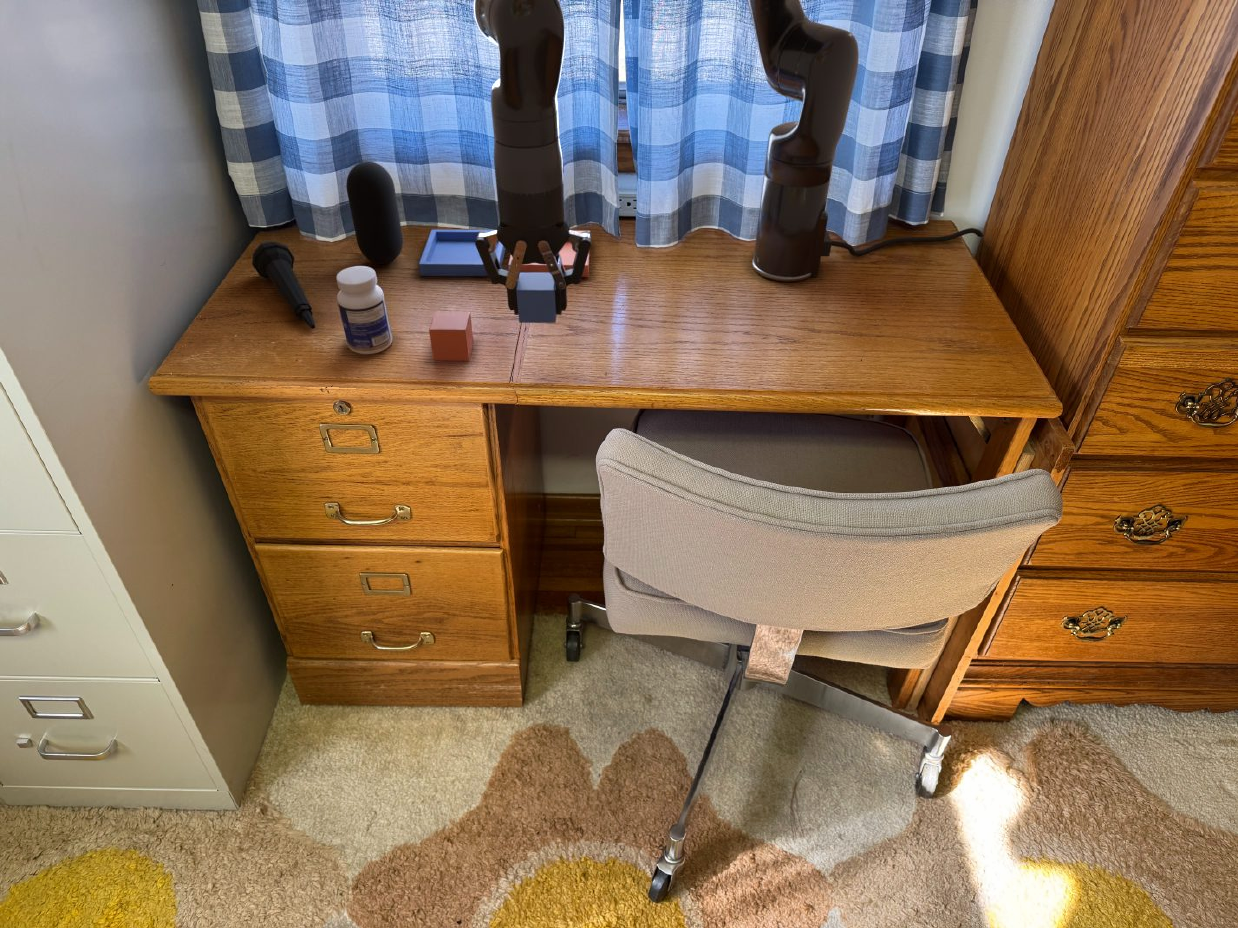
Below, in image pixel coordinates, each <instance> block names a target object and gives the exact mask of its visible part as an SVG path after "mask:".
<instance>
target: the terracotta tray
mask: <svg viewBox="0 0 1238 928" xmlns="http://www.w3.org/2000/svg"><path fill="white" fill-rule="evenodd" d="M574 231H575V232H579V233H582V232H583V231H584V230H574ZM588 231H589V232H590V233H591V230H588ZM590 253H591V249H590V250H589V253H588V257H587V260H586V264H585V267H584V271H583V274H582V278H589V274H590V273H589V270H590ZM559 254H560V256H561V260H562V264H563V266H564V269H565V271H567V270H570V269H572V266H573V262H574V259H575V255H576V252H575V251H573V249H572V243H571V242H570V241H567V242H566V244H565V245H564V246H563V248H562V249H561V251H560V252H559ZM511 259H512V255H511V254H510V256H509V261H508V265H507V266H508V268H509V267H510V263H511ZM520 273H550V272H549V270H548V267H547V265H546V264H538V263H531V264H522V265H521V269H520V272H519V274H520ZM518 277H519V275H518Z"/></svg>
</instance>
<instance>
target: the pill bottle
mask: <svg viewBox="0 0 1238 928" xmlns="http://www.w3.org/2000/svg"><path fill="white" fill-rule="evenodd" d="M336 283H337V287H338V289H339V291H338V292H337V296H336V300H337V301H336V302H337V306H338V309H339V314H340V318H341V323H342V327H343V331H344V336H345V339H346V344H347V347H348V348H349V350H351V351H352V352H354V353H355V354H359V355H373V354H379V353H380V352H381V353H382V352H383V351H385V350H387V349H388V348H389V347H390V346H391V345H392V342H393V333H392V329H391V323H390V319H389V313H388V309H387V303H386V297H385V294H384V291H383V289H382V287H380V286H379V285H378V278H377V273H376V270H375V269H374V268H372V267H370V266H365V265H354V266H350V267H347V268H344V269H341V270H340V271H339V272H337V274H336Z"/></svg>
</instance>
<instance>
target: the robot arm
mask: <svg viewBox="0 0 1238 928" xmlns="http://www.w3.org/2000/svg"><path fill="white" fill-rule="evenodd" d="M746 2H747V6H748V9H749V12H750V17H751V22H752V26H753V29H754V35H755V41H756V45H757V50H758V55H759V60H760V63H761V68H762V72H763V75H764V77H765V80H766V82H767V84H768V85H769V87H770V88H771V89H772V90H773V91H774V92H776V93H777V94H779V95H780V96H783V97H785V98H788V99H792V100H794V101H798V102H801V104H802V105H801V109H800V113H799V118H798V120H795V121H788V122H784V123H780V124H778V125H776V126H773V128H772V129H770V131H769V134H768V137H767V145H766V154H765V160H764V161H765V163H764V168H763V169H764V170H763V178H762V187H761V194H760V203H759V210H758V218H757V227H756V235H755V241H754V250H753V256H752V262H751V266H752V269H753V270H754V272H755V273H757V274H758V275H759V276H761V277H763V278H766V279H769V280H772V281H777V282H785V283H788V282H789V283H791V282H801V281H804V280H808V279H810V278H817V277H818V276H819V271H820V265H821V258H822V257H830V256H831V251H832V250H831V249H832V247H838V248H842V249H846V250H847V251H848V252H849V254H850V255H851V256H854V257H860V256H863V255H867V254H869V253H872V252H875V251H876V250H878V249H881V248H882V247H883V248H884V247H886V246H889V245H895V244H903V243H939V242H940V243H941V242H949V241H951V240H955V239H958V238H959V237H962V236H965V235H968V234H974V235H976V236H977V237H978V238H984V234H983V232H982V231H981V230H979V229H978V228H974V227H969V228H965V229H961V230H959V231H957V232H955V233H952V234H948V235H941V236H904V237H894V238H889V239H885V240H882V241H879V242H877V243H875V244H873V245H871V246H869V247H867V248H864V249H860V250H859V249H858V250H855V248H854V247H853V246H852V245H851V244H849V243H847V242H844V241H838V240H832V239H831V237H830V235H829V232H828V229H827V226H828V221H829V214H828V212H827V210H826V207H827V201H828V196H829V190H830V185H831V180H832V179H831V178H832V173H833V167H834V160H835V156H836V151H837V147H838V144H839V142H840V140H841V138H842V135H843V132H844V129H845V126H846V122H847V119H848V112H849V109H850V103H851V100H852V95H853V91H854V87H855V83H856V80H857V79H856V78H857V73H858V67H859V56H860V52H859V45H858V41H857V39H856V37H855V36H854V34H852V33H851V32H850V31H848V30H847V29H842V28H839V27H835V26H831V25H828V24H823V23H820V22H815V21H812V20H810V18H808V17H807V15H806V13H805V12H804V9H803V6H802V4H801V0H746ZM473 13H474V20H475V22H476V25H477V27H478V28H479V29H478V30H480V32H481V33H482V35H483V36H484V37H485V38H486V39H487V40H489V41H490V42H491V43H493V44H494V45H496V46H497V47H498V53H499V79H497V80H496V81H495V82H494V83H493V85H492V88H491V92H490V108H491V111H490V112H491V119H492V129H493V140H494V141H493V142H494V143H493V166H494V177H495V187H496V198H497V208H498V218H499V219H498V220H499V224H498V225H497V229H494V230H495V231H492V232H488V233H487V232H486V231H483V230H484V229H481V230H482V231H479V232H478V235H477V239H476V242H475V246H476V248H477V250H478V253H479V255H480V257H481V260H482V262H483V264H484V267H485V269H486V271H487V274H488V276H487V277H488V278H489V281H490V283H491V284H493V285H502V286H504V287H505V288H506V295H507V307H508V309H509V310H510V311H513V314H514V316H519V315H518V304H517V292H516V290H517V285H518V279H519V276H518V275H519V272H520V269H521V265H522V264H531V263H538V264H546V265H547V267H548V270H549V272H550V274H551V275H552V277H553V279H554V282H555V304H556V316H562V314H563V311H566V310H567V307H568V286H570V285H576V286H577V285H579V284H580V283H581V282H582V278H583V277H582V274H583V271H584V267H585V264H586V260H587V257H588V253H589V250H590V251H591V247H592V233H591V231H590V230H582V231H583V232H582V233H579V232H575V231H576V230H571V228H570V227H569V225H568V223H567V220H566V211H565V210H566V209H565V190H564V186H565V185H564V173H565V170H564V169H565V168H564V167H565V166H564V164H563V163H564V161H563V154H562V152H563V151H562V147H561V142H560V128H559V127H560V126H559V107H558V90H559V85H560V82H561V81H560V80H561V76H562V75H561V74H562V67H563V63H564V62H563V61H564V54H565V45H566V44H565V43H566V27H565V17H564V13H563V8H562V5H561V3H560V1H559V0H474V2H473ZM589 231H590V232H589ZM497 241H499V242H500V243H501V244H502V245H503V246H504V247H505V248H506V250H505V251H507V252H508V253H509V254H510V255H512V259H511V263H510V267H509V266H508V270H506V269H503V267H502V268H501V265H500V263H499V260H498V258H497V255H496V253H495V249H496V246H497V243H496V242H497ZM567 241H570V242H571V243H572V249H573V251H575V252H576V255H575V259H574V262H573V266H572V269H570V270H567V271H565V269H564V266H563V264H562V260H561V256H560V254H559V252H560V251H561V249H562V248H563V246H564V245H565V244H566V242H567Z"/></svg>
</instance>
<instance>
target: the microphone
mask: <svg viewBox="0 0 1238 928" xmlns="http://www.w3.org/2000/svg"><path fill="white" fill-rule="evenodd" d="M294 262H295V257H294V254H293V253H292V252H291V250H290V249H289V247H288V245H286V244H283V243H281V242H278V241H272V240H268V241H264V242H261V243H259V245H258V246H257V247H256V248H255V249H254V252H253V253H252V262H251V265H252V267H253V268H254V270H255V271H256V273H257V274H258V275H259V277H261V278H265V279H267V280H270V281H271V282H272V283H273V285H274V286H275V288H276V289H277V290H278V292H279V293H280V295H281V296H282V297H283V299H284V301H285V302H286V303H287V304H288V306H289V307H290V308H291V310H292V311H293V312H294V314H295V315H296V317H298V318H299V319H300V320H301V321H303V322H304V323H305V324H306V325H307V326H308V327H309V328H310V329H312V330H314V329H315V328H316V324H315V320H314V317H313V312H312V309H313V308H312V306H311V304H310V302H309V300H308V298H307V296H306V293H305V291H304V290H303V288H302V285H301V284H300V282H299V280H298V278H297V275H296V273H295V272H294V270H293V269H294Z"/></svg>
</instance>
